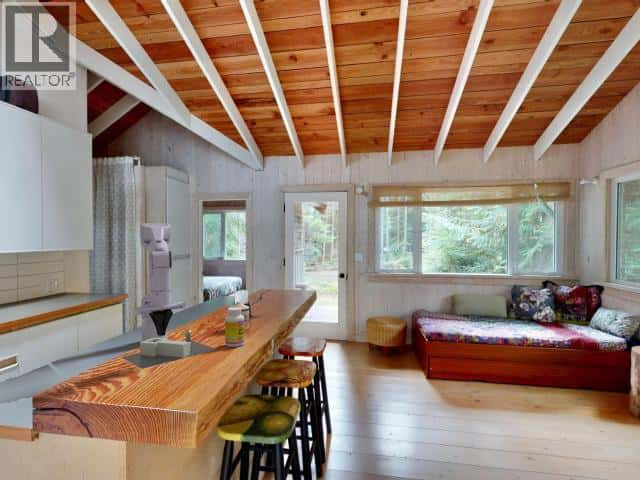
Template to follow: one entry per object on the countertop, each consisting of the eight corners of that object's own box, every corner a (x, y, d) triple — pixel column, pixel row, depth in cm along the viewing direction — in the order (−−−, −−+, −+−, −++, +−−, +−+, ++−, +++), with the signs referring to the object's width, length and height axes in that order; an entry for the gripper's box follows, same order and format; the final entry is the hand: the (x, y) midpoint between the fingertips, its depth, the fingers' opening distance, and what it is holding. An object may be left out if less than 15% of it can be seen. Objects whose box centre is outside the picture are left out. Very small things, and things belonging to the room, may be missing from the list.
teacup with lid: (246, 331, 145) (246, 303, 145) (224, 331, 145) (224, 303, 145) (253, 324, 156) (253, 298, 157) (233, 325, 157) (233, 298, 157)
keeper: (180, 352, 117) (180, 334, 117) (186, 347, 123) (186, 329, 123) (185, 352, 117) (185, 333, 117) (191, 347, 123) (191, 329, 124)
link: (140, 354, 114) (140, 342, 114) (154, 349, 120) (154, 337, 120) (180, 359, 109) (180, 346, 109) (193, 353, 114) (193, 340, 114)
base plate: (121, 358, 112) (121, 356, 112) (192, 342, 130) (192, 340, 130) (142, 370, 101) (142, 368, 101) (217, 350, 119) (217, 349, 119)
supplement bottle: (239, 347, 122) (239, 310, 122) (222, 347, 123) (221, 310, 123) (247, 342, 128) (246, 307, 128) (230, 341, 129) (230, 306, 130)
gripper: (141, 294, 100) (141, 342, 99) (189, 288, 110) (190, 332, 110) (131, 292, 104) (132, 338, 104) (179, 287, 115) (179, 329, 115)
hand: (161, 335), depth 107 cm, fingers closed
